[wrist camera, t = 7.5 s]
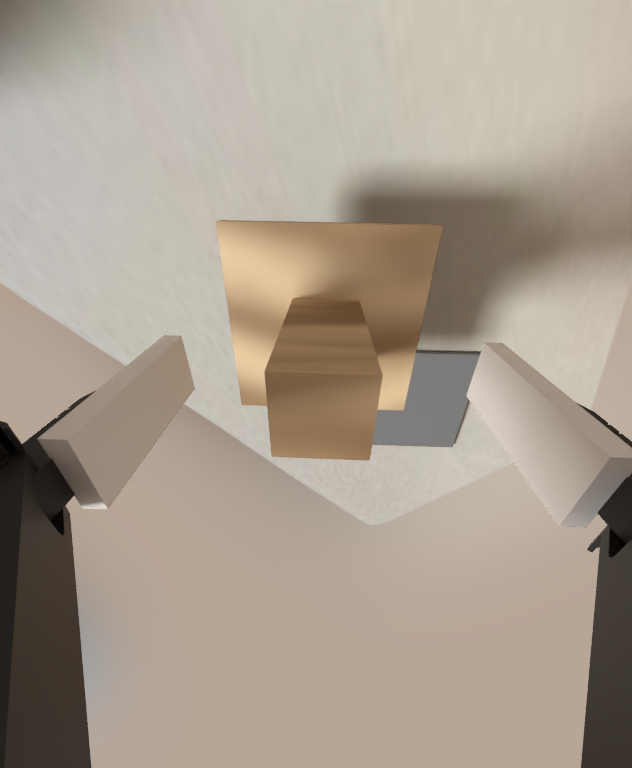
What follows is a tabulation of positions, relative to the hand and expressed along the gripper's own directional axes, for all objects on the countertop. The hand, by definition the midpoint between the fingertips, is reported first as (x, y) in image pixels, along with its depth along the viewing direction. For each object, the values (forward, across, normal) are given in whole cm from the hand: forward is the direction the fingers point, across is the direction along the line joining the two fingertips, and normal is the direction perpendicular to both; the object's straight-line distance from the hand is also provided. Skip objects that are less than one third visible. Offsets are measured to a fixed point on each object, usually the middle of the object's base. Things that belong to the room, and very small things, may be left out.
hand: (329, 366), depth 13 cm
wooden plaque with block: (+7, 0, -1) cm, 7 cm away
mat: (+15, +9, -12) cm, 21 cm away
